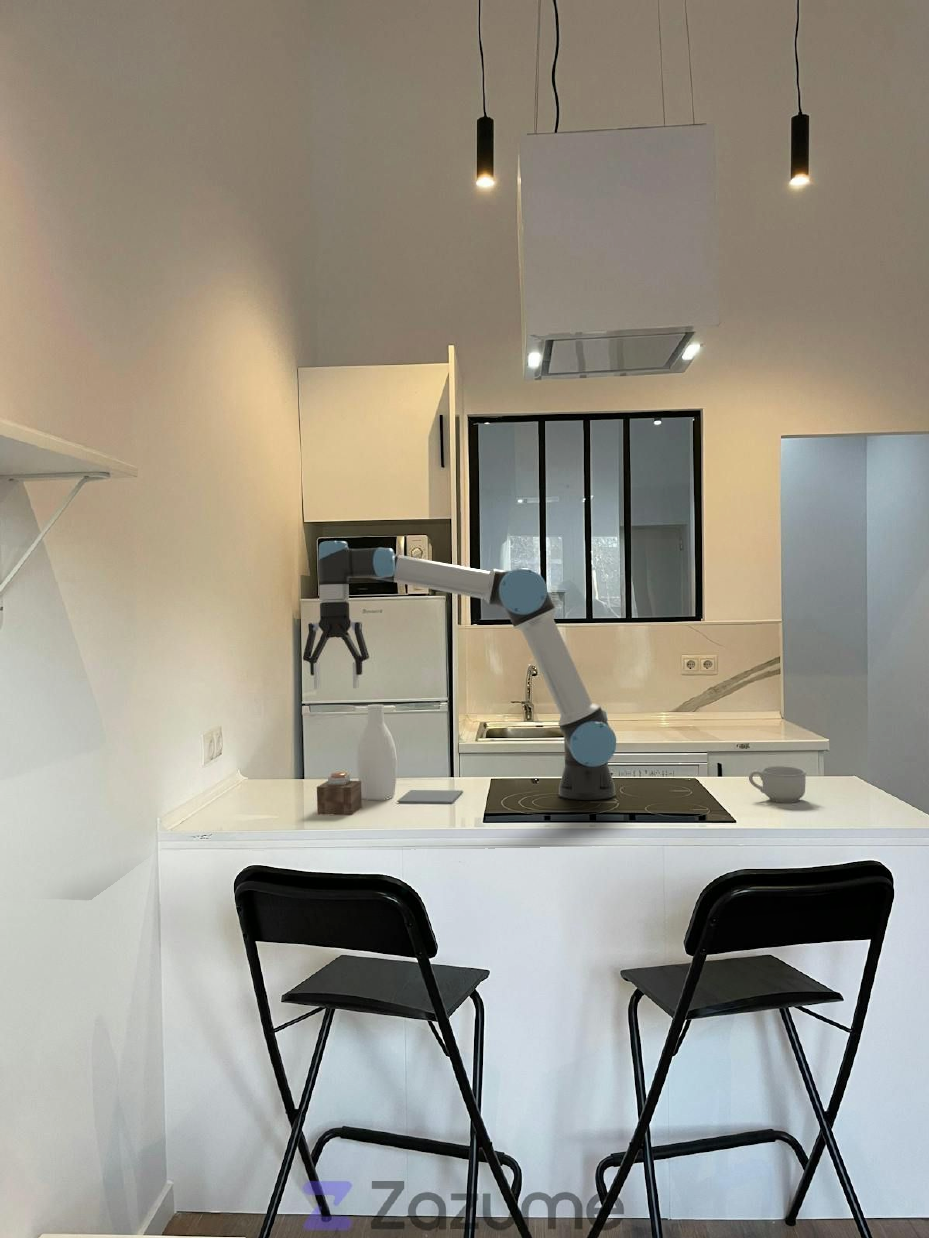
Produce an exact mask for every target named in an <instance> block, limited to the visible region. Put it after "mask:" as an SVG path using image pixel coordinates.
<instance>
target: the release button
mask: <svg viewBox="0 0 929 1238" xmlns="http://www.w3.org/2000/svg"><path fill="white" fill-rule="evenodd" d="M327 779H328V780H327V781H328V786H346V785H348V784H349V783H350V781H351V775H350V774H347V772H333V773H331V774H330V776H328V778H327Z"/></svg>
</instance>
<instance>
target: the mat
mask: <svg viewBox="0 0 929 1238" xmlns="http://www.w3.org/2000/svg"><path fill="white" fill-rule="evenodd" d="M463 793H464V790H456V789H455V790H451V789H450V790H447V789H445V790H444V789H443V790H442V789H440V790H439V789H438V790H437V789H436V790H435V789H434V790H432V789H410V790H408V791H407V792H406V793H405V794H404V795H402V797H400V798H398V800H396V803H397V802H399V803H398V804H431V805H432V804H435V805H436V804H439V805H440V804H443V805H447V804H448V805H449V804H450V805H453V804H454V803H455V801H457V800H458V799H459V798H460V796H462V794H463Z"/></svg>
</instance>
